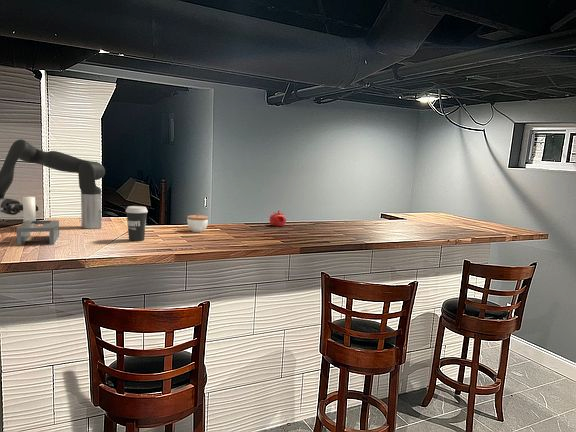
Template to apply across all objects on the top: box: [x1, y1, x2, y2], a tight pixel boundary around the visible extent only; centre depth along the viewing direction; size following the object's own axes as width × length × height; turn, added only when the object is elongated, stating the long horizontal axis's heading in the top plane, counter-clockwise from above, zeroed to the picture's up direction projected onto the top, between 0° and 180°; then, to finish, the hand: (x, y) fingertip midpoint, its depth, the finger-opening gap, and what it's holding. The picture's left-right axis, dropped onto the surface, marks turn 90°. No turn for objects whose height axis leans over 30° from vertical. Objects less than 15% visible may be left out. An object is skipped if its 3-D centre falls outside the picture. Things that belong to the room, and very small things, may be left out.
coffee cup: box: [125, 205, 149, 242], centre depth 194 cm, size 10×10×15 cm
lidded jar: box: [186, 212, 209, 233], centre depth 225 cm, size 11×11×9 cm
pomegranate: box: [269, 209, 287, 228], centre depth 256 cm, size 10×10×9 cm
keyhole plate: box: [16, 219, 60, 247], centre depth 184 cm, size 20×13×7 cm, turn 22°
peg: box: [22, 196, 37, 223], centre depth 202 cm, size 6×6×16 cm
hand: (28, 209), depth 202 cm, fingers open, 8 cm apart
